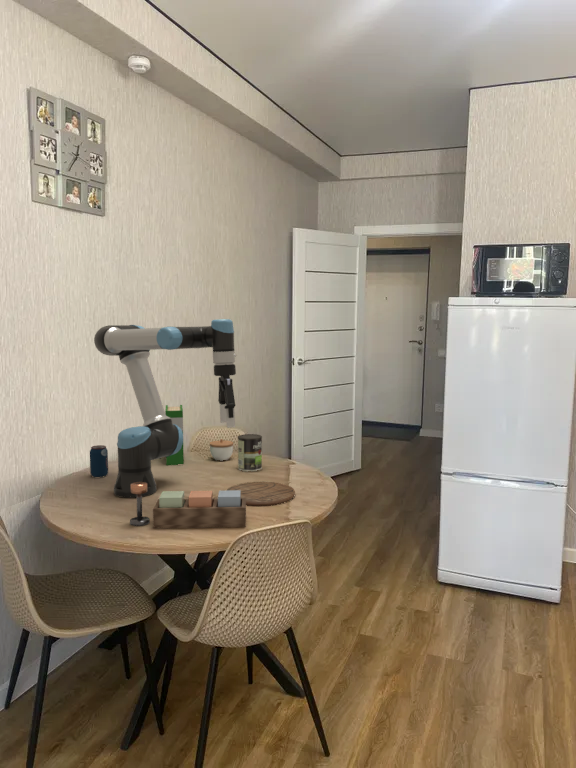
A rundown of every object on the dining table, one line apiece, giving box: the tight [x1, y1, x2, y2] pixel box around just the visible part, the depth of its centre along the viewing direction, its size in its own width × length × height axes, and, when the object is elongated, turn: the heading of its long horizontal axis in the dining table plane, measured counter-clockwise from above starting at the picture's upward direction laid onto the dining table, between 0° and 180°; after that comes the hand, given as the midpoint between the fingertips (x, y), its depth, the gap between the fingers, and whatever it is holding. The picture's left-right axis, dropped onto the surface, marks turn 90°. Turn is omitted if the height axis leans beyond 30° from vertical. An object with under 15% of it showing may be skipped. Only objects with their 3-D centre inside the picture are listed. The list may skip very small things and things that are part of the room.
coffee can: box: [237, 433, 263, 472], centre depth 245 cm, size 10×10×14 cm
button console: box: [152, 497, 247, 529], centre depth 180 cm, size 28×10×6 cm, turn 93°
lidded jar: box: [209, 438, 234, 462], centre depth 261 cm, size 11×11×9 cm
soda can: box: [89, 445, 109, 478], centre depth 232 cm, size 7×7×12 cm
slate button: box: [217, 489, 241, 507], centre depth 180 cm, size 7×7×4 cm
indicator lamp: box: [129, 482, 151, 527], centre depth 178 cm, size 6×6×12 cm
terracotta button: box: [188, 490, 214, 507], centre depth 179 cm, size 7×7×4 cm
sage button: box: [158, 490, 186, 508], centre depth 179 cm, size 7×7×4 cm
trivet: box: [226, 481, 296, 507], centre depth 208 cm, size 25×25×2 cm
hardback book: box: [164, 404, 185, 466], centre depth 258 cm, size 18×7×24 cm, turn 11°
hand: (227, 424), depth 200 cm, fingers open, 13 cm apart
